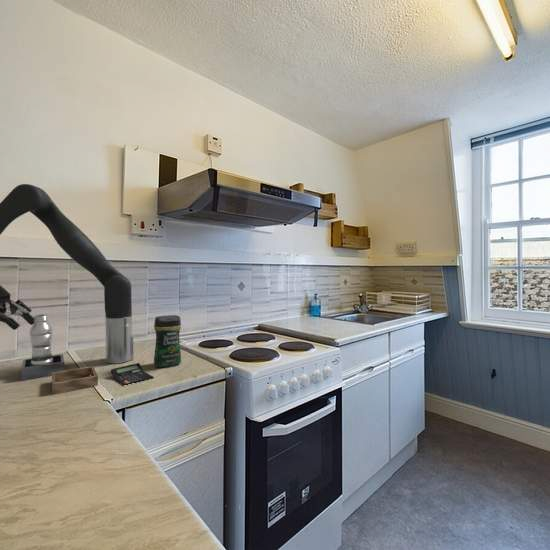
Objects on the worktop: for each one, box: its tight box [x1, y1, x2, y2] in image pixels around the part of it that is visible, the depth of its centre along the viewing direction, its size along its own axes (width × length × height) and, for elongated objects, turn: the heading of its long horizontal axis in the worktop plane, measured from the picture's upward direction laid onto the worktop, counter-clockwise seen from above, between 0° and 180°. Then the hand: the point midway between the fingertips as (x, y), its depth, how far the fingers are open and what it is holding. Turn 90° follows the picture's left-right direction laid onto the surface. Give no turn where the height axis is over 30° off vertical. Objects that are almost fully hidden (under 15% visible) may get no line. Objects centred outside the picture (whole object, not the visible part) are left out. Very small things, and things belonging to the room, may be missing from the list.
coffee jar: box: [153, 314, 182, 368], centre depth 119 cm, size 10×8×19 cm
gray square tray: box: [20, 354, 66, 382], centre depth 110 cm, size 12×12×4 cm
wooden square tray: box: [51, 366, 99, 395], centre depth 100 cm, size 12×12×3 cm
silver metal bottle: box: [28, 314, 54, 367], centre depth 109 cm, size 6×7×20 cm
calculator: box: [110, 362, 154, 386], centre depth 106 cm, size 9×12×3 cm
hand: (26, 325), depth 109 cm, fingers open, 8 cm apart
